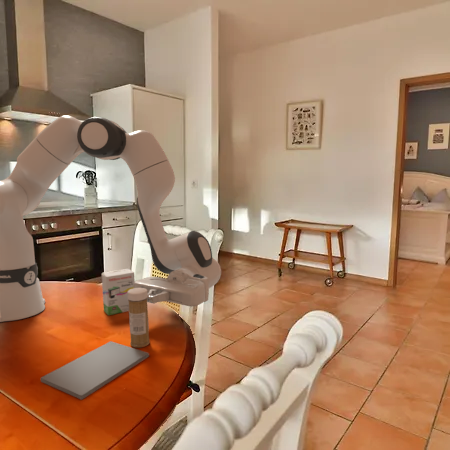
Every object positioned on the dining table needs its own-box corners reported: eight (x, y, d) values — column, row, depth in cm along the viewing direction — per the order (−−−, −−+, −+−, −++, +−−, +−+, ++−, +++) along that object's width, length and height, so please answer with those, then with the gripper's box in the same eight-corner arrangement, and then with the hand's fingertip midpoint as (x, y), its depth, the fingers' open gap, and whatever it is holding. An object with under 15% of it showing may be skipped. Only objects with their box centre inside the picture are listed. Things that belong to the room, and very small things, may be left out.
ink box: (107, 316, 105) (105, 276, 104) (103, 310, 109) (101, 272, 108) (136, 309, 110) (134, 271, 108) (131, 304, 114) (129, 268, 112)
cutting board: (110, 344, 88) (110, 341, 88) (149, 356, 82) (148, 353, 82) (40, 381, 72) (40, 377, 72) (81, 399, 66) (81, 395, 66)
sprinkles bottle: (152, 340, 89) (150, 287, 88) (145, 349, 85) (142, 293, 83) (135, 339, 90) (132, 286, 88) (126, 347, 86) (123, 292, 84)
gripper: (153, 268, 106) (117, 281, 94) (213, 278, 96) (181, 293, 84) (153, 289, 107) (118, 304, 95) (213, 301, 97) (182, 319, 85)
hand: (148, 299), depth 89 cm, fingers closed
